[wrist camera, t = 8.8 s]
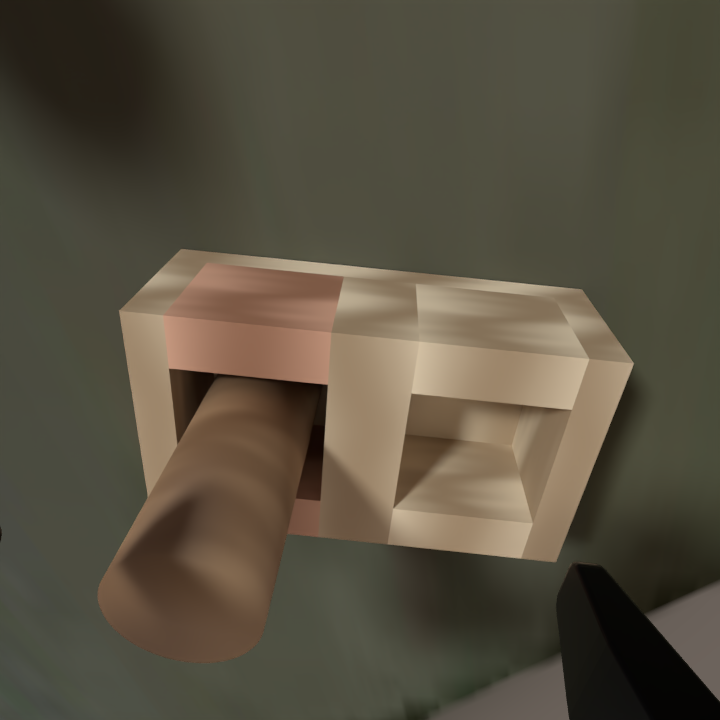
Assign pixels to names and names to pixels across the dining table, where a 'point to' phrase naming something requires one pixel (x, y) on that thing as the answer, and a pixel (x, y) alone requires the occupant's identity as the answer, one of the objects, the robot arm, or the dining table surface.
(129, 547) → the dowel
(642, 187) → the dining table surface
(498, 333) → the bore block
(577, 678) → the robot arm
